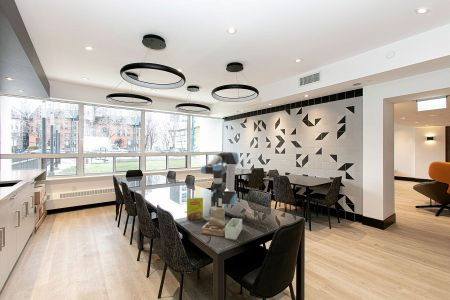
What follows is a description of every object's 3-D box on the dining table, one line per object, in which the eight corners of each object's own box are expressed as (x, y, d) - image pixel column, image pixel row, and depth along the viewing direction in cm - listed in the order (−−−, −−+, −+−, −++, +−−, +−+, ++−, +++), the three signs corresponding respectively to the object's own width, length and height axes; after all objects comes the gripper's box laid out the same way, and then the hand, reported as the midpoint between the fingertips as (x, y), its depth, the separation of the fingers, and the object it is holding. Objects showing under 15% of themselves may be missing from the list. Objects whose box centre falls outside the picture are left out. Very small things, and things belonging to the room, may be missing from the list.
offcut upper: (211, 228, 177) (211, 226, 177) (218, 229, 176) (218, 226, 176) (210, 230, 173) (210, 227, 173) (217, 230, 172) (218, 228, 172)
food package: (187, 219, 203) (187, 198, 203) (186, 219, 204) (187, 198, 204) (202, 218, 207) (203, 197, 207) (202, 217, 208) (202, 197, 208)
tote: (232, 228, 183) (232, 218, 182) (242, 229, 180) (242, 219, 180) (224, 238, 163) (225, 226, 163) (235, 239, 160) (235, 228, 160)
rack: (208, 226, 187) (208, 221, 187) (228, 228, 181) (229, 224, 181) (201, 233, 172) (201, 228, 172) (223, 236, 166) (223, 231, 166)
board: (211, 227, 184) (211, 206, 184) (224, 229, 180) (224, 208, 180) (210, 228, 182) (210, 207, 182) (223, 230, 178) (223, 208, 178)
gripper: (218, 180, 193) (218, 203, 194) (207, 184, 170) (207, 211, 170) (226, 180, 191) (226, 204, 191) (216, 185, 167) (216, 212, 168)
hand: (217, 207), depth 181 cm, fingers open, 13 cm apart
